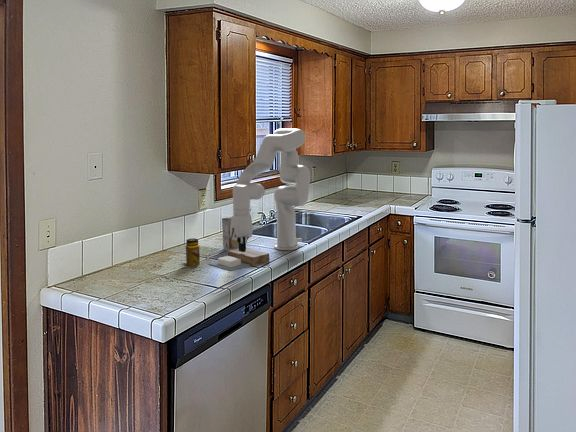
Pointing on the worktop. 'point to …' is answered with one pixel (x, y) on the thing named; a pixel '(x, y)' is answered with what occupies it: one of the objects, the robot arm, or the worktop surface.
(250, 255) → the board
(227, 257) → the tile
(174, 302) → the worktop surface
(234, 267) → the mat
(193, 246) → the condiment
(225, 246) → the coffee box
